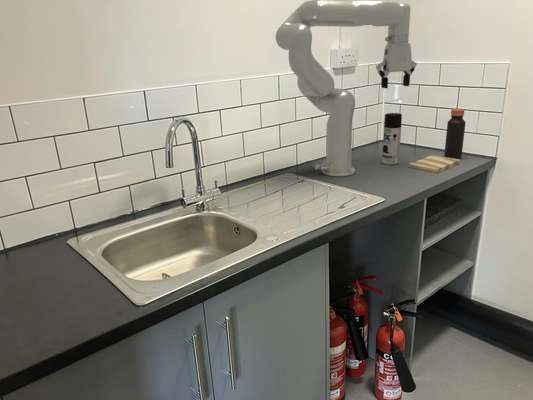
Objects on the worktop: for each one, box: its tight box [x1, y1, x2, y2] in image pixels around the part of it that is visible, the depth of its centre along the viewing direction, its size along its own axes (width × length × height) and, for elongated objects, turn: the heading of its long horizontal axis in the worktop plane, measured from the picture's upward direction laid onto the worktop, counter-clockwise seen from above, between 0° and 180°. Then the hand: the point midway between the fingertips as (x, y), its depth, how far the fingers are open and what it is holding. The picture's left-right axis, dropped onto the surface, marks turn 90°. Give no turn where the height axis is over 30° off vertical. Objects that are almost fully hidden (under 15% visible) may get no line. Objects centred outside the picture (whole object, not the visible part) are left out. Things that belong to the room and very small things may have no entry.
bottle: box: [443, 108, 466, 160], centre depth 180 cm, size 7×7×20 cm
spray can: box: [381, 112, 403, 166], centre depth 177 cm, size 7×7×20 cm
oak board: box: [408, 154, 461, 174], centre depth 174 cm, size 18×12×2 cm, turn 131°
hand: (395, 87), depth 170 cm, fingers open, 9 cm apart
